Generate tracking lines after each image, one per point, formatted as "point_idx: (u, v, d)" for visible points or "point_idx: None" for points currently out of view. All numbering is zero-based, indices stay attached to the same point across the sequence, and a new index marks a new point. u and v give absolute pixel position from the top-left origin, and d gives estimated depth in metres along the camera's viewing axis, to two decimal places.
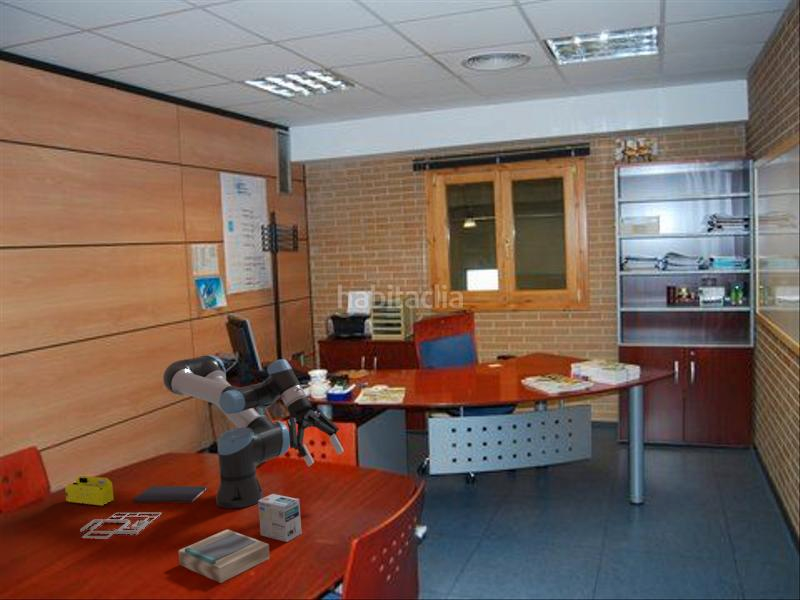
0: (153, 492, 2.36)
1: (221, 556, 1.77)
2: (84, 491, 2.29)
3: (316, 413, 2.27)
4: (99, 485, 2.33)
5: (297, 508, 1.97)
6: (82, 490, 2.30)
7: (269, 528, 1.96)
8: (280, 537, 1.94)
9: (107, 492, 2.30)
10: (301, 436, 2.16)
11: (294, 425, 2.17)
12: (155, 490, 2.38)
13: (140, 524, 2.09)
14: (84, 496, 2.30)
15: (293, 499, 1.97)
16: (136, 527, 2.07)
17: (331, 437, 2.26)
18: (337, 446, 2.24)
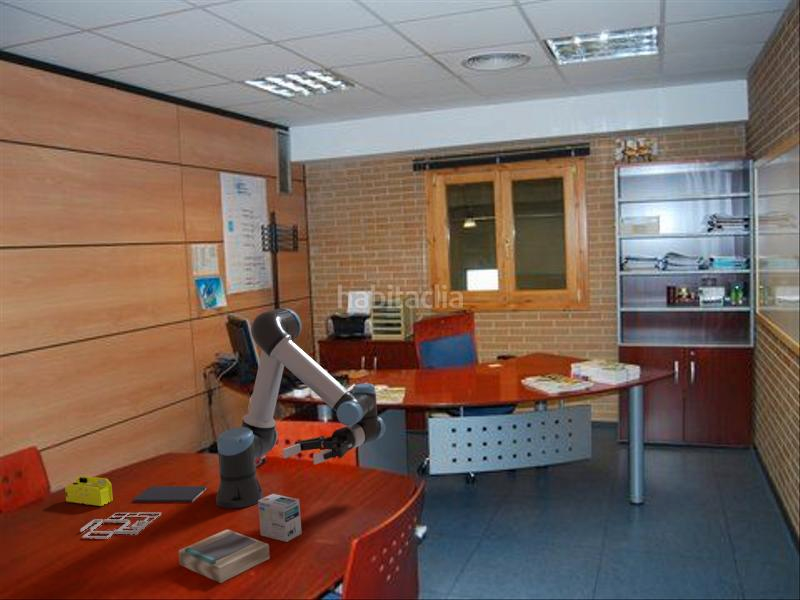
0: (153, 492, 2.36)
1: (221, 556, 1.77)
2: (83, 491, 2.29)
3: None
4: (98, 485, 2.33)
5: (297, 508, 1.97)
6: (81, 490, 2.30)
7: (269, 528, 1.96)
8: (280, 537, 1.94)
9: (106, 492, 2.29)
10: None
11: None
12: (155, 490, 2.38)
13: (140, 524, 2.09)
14: (83, 496, 2.30)
15: (293, 499, 1.97)
16: (136, 527, 2.07)
17: (299, 448, 2.13)
18: (291, 452, 2.10)
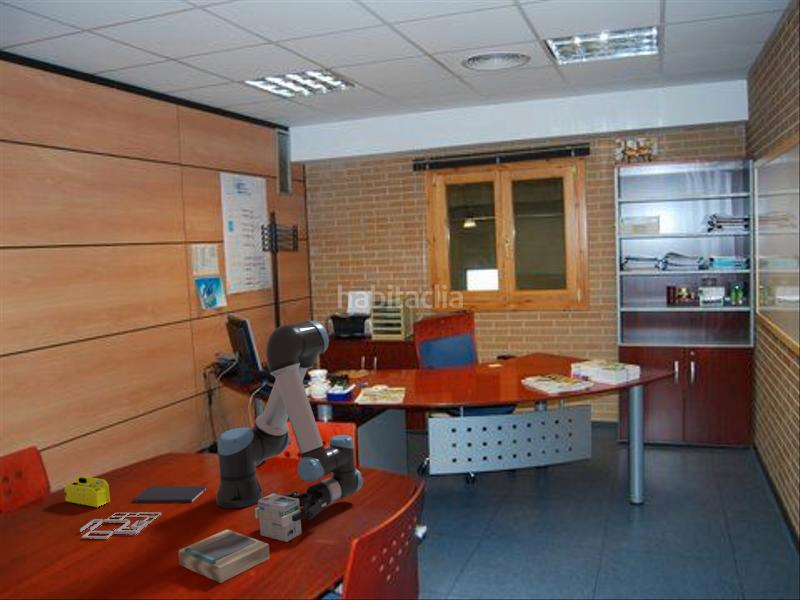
0: (153, 492, 2.36)
1: (221, 556, 1.77)
2: (81, 492, 2.29)
3: None
4: (97, 486, 2.32)
5: (297, 508, 1.97)
6: (79, 491, 2.29)
7: (269, 528, 1.96)
8: (280, 537, 1.94)
9: (103, 494, 2.28)
10: None
11: None
12: (155, 490, 2.38)
13: (140, 524, 2.09)
14: (81, 497, 2.29)
15: (293, 499, 1.97)
16: (136, 527, 2.07)
17: None
18: None
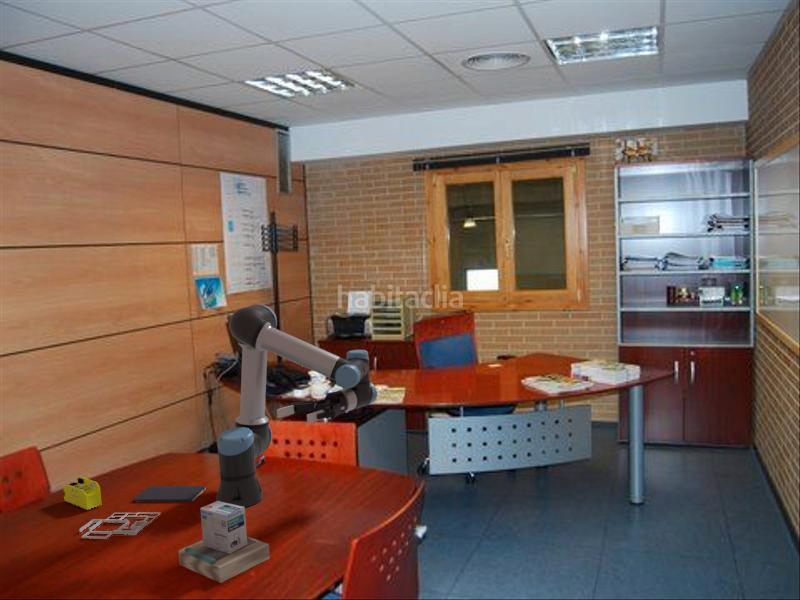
0: (152, 492, 2.37)
1: (221, 556, 1.77)
2: (75, 493, 2.28)
3: None
4: (91, 488, 2.31)
5: (242, 517, 1.81)
6: (73, 491, 2.29)
7: (212, 539, 1.81)
8: (222, 548, 1.79)
9: (94, 496, 2.26)
10: None
11: None
12: (154, 490, 2.38)
13: (139, 524, 2.09)
14: (75, 498, 2.28)
15: (238, 507, 1.82)
16: (135, 527, 2.07)
17: (292, 409, 2.17)
18: (284, 413, 2.14)
